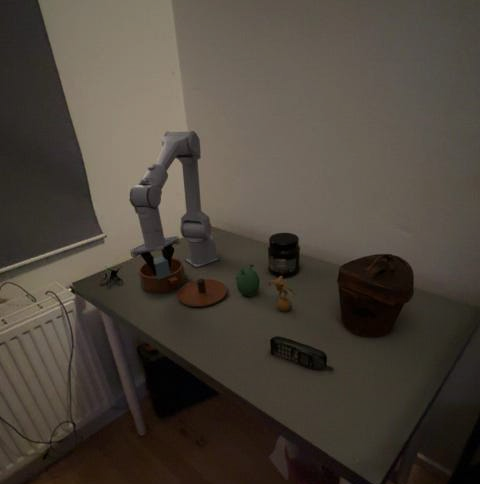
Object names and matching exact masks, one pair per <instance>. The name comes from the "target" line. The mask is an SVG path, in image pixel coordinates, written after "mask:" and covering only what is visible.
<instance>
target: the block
mask: <svg viewBox="0 0 480 484" xmlns="http://www.w3.org/2000/svg"><path fill="white" fill-rule="evenodd" d="M154 266H155V270H156V275H155V277H156V278H157V279H161V278H164V277H167V276H170V270H169V264H168V260H167V259H165V258H164V257H163V255H161V256H158V257H154Z"/></svg>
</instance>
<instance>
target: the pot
mask: <svg viewBox="0 0 480 484" xmlns="http://www.w3.org/2000/svg"><path fill="white" fill-rule="evenodd" d="M138 276H139V280H140V283H141V286H142V288H143V289H144V290H145V291H146V292H149V293H152V294H153V293H154V294H159V293H160V294H161V293H168V292H171V291H174V290H177V289H178V288H180V287H182V285H184V283H186V282H185V281H186V274H185V269H184V264H183V260H180V259H179V258H175V257H172V260H171V269H170V276H167V277H164V278H161V279H157V278H156V277H155V276H154V275H153V274H152V273H151V270H150V268H149V266H148V265H147V263H146V262H145V263H143V264H141V266H140V267H139V268H138Z"/></svg>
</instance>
